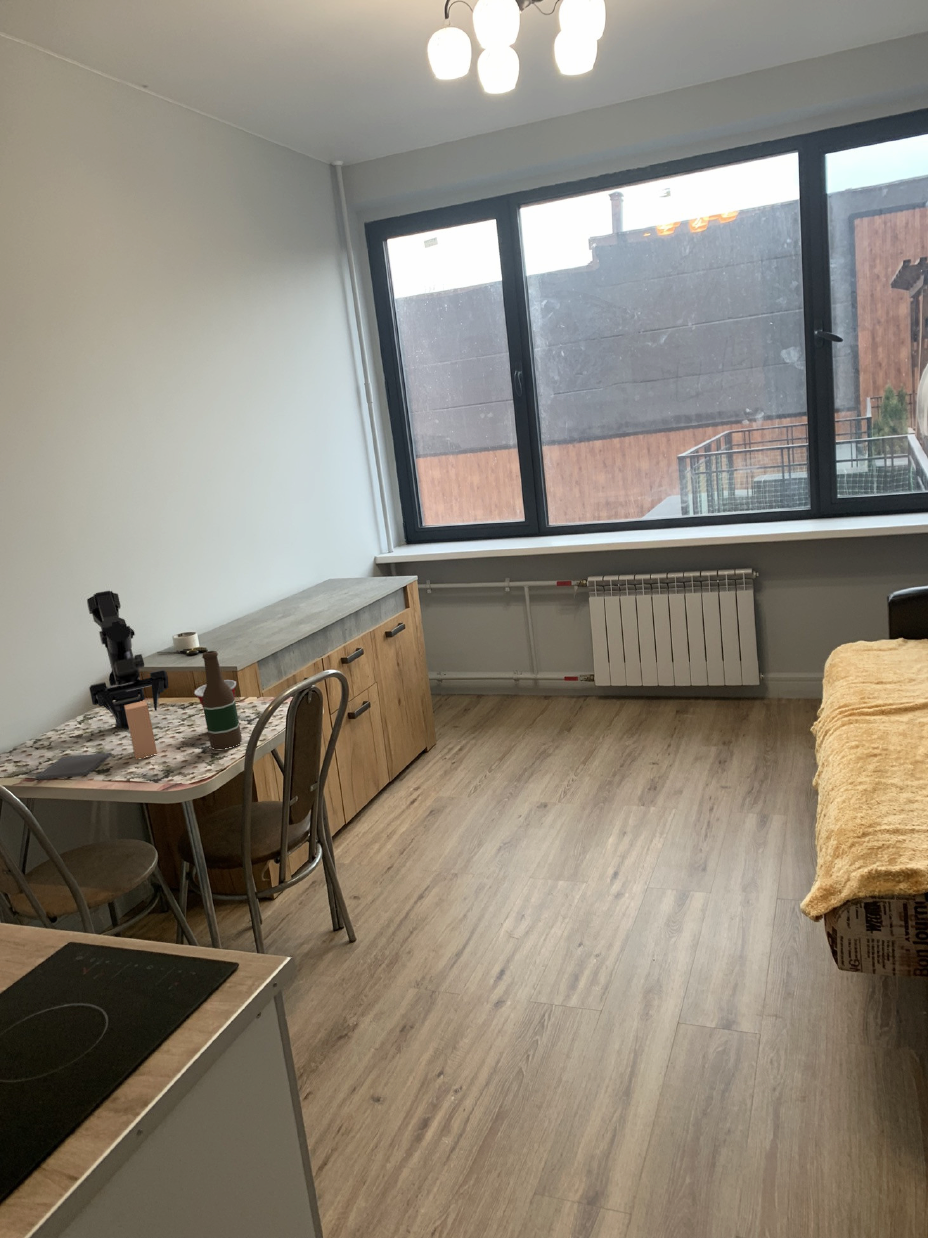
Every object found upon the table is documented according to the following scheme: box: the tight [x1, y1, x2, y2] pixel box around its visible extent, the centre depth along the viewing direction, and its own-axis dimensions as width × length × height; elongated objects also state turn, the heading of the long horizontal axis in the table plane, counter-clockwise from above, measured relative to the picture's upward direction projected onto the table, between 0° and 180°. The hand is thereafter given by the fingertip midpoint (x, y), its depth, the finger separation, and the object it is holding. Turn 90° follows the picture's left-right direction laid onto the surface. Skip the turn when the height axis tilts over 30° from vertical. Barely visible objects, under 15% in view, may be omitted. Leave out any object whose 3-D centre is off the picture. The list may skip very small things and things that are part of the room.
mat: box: [34, 752, 112, 781], centre depth 229 cm, size 13×13×1 cm
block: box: [124, 700, 158, 760], centre depth 231 cm, size 5×5×13 cm
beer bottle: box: [201, 650, 243, 750], centre depth 229 cm, size 8×8×24 cm
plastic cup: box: [194, 679, 237, 708], centre depth 243 cm, size 11×11×12 cm
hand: (136, 714), depth 232 cm, fingers open, 9 cm apart
